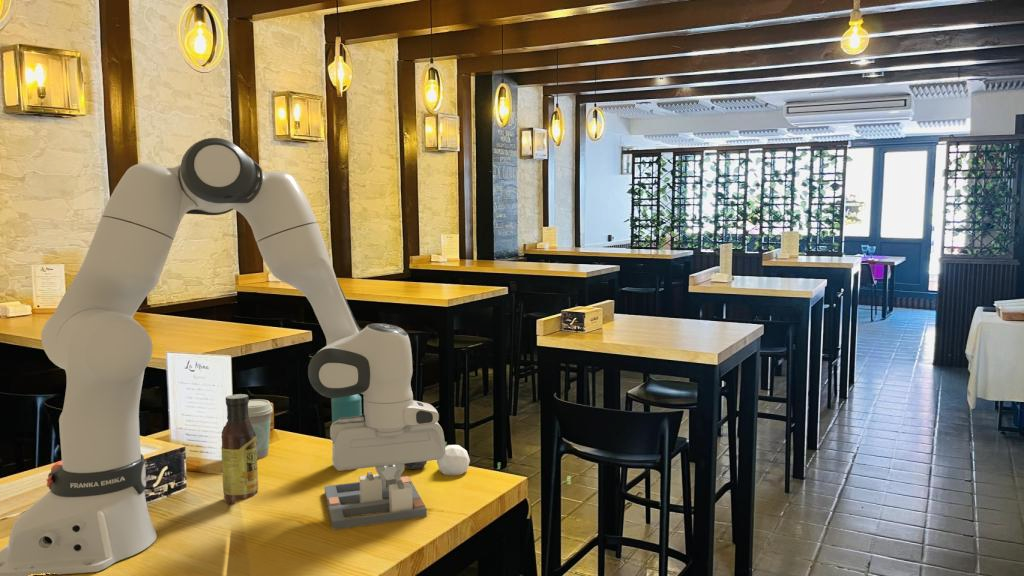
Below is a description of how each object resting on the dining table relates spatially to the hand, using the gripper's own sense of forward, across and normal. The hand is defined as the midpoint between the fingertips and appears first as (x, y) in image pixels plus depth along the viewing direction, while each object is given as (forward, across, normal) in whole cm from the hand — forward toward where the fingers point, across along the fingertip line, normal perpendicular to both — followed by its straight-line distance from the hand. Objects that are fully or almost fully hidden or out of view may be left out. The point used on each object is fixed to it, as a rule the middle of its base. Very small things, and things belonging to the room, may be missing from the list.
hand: (390, 487), depth 131 cm
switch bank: (+4, -3, 0) cm, 5 cm away
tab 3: (+3, +1, -6) cm, 7 cm away
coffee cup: (+4, -24, +40) cm, 47 cm away
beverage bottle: (+4, -5, +23) cm, 24 cm away
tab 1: (+3, -4, 0) cm, 4 cm away
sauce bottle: (+4, -26, +14) cm, 30 cm away
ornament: (+4, +15, +12) cm, 20 cm away
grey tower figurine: (+4, +8, +17) cm, 19 cm away
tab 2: (+3, +1, +6) cm, 7 cm away
